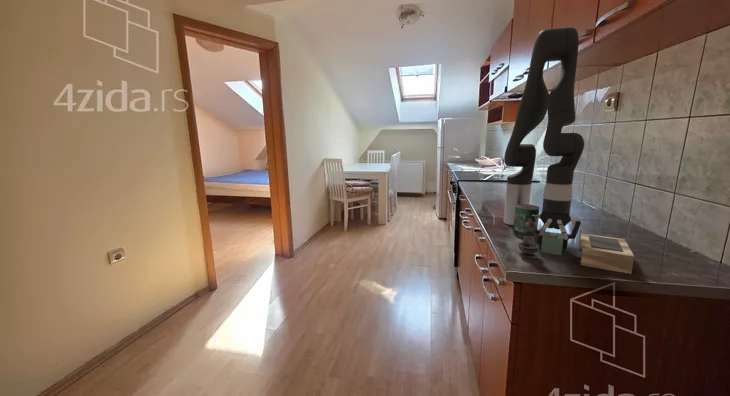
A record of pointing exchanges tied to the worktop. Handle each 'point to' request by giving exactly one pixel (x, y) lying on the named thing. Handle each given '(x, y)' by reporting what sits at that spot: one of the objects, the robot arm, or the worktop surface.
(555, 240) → the housing
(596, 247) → the stand
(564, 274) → the worktop surface
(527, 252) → the grey chess piece
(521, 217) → the canned tomato
